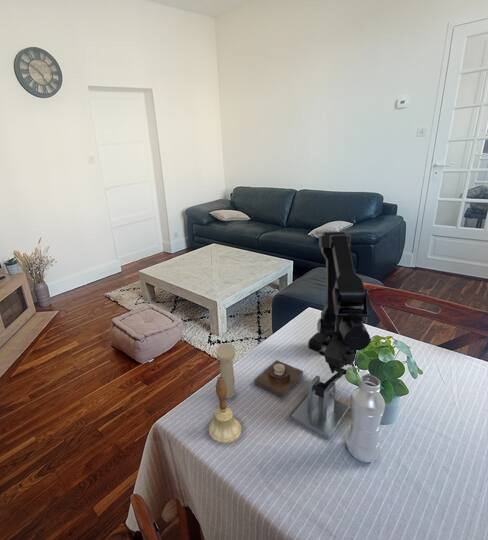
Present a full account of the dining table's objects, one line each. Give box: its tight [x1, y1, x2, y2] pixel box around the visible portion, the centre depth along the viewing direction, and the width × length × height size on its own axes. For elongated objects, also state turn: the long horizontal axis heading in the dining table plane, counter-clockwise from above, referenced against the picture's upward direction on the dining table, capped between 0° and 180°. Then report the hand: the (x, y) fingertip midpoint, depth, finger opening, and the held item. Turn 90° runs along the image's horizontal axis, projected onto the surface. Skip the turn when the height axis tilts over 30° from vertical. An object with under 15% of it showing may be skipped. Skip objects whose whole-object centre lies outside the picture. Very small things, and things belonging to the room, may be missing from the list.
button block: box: [254, 359, 304, 399], centre depth 99 cm, size 12×9×4 cm
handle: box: [216, 343, 236, 399], centre depth 93 cm, size 5×6×15 cm
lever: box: [315, 366, 348, 398], centre depth 88 cm, size 16×5×2 cm, turn 137°
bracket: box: [290, 375, 350, 440], centre depth 84 cm, size 12×10×10 cm
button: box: [274, 364, 285, 375], centre depth 98 cm, size 3×3×2 cm
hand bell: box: [208, 376, 243, 444], centre depth 82 cm, size 8×8×16 cm
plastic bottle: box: [346, 374, 386, 463], centre depth 71 cm, size 6×7×20 cm
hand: (342, 376), depth 94 cm, fingers closed on lever, 5 cm apart
